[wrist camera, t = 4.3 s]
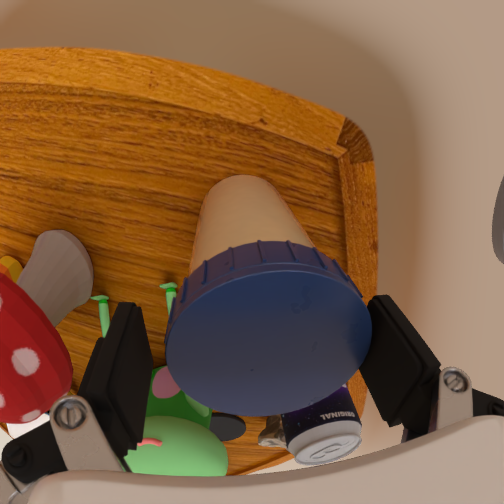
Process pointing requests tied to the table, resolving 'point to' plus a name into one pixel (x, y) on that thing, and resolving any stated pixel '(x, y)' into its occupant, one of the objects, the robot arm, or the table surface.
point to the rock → (273, 433)
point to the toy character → (173, 424)
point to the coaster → (226, 426)
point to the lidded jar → (243, 218)
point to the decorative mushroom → (40, 325)
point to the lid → (266, 329)
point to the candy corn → (10, 268)
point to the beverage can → (323, 429)
